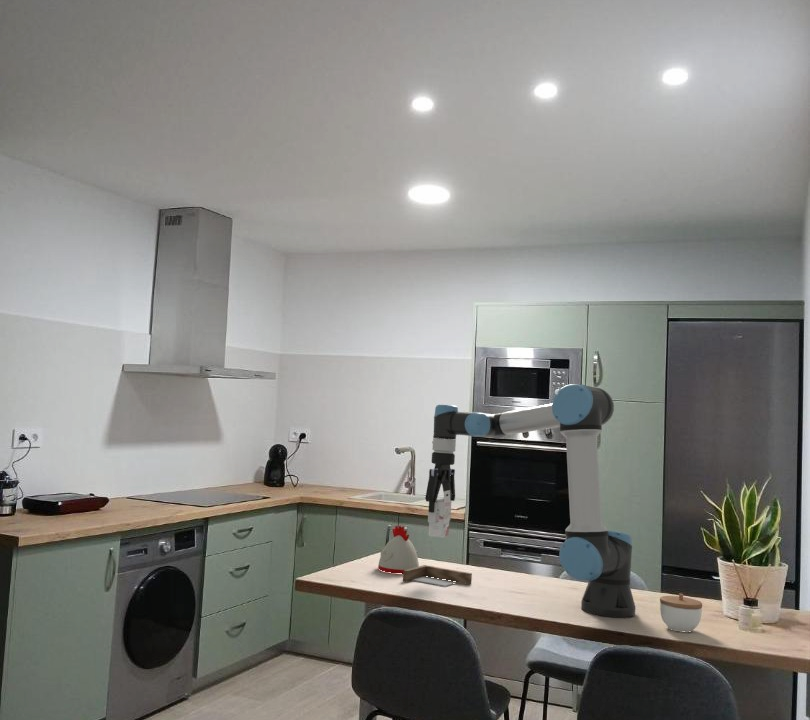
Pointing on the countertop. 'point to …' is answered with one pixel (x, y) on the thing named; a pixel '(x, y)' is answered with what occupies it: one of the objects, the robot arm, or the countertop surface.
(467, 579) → the corner walls
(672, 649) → the countertop surface
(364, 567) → the countertop surface
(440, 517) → the ink cartridge box
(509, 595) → the countertop surface
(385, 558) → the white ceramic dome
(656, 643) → the countertop surface
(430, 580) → the pad
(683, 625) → the lidded jar
